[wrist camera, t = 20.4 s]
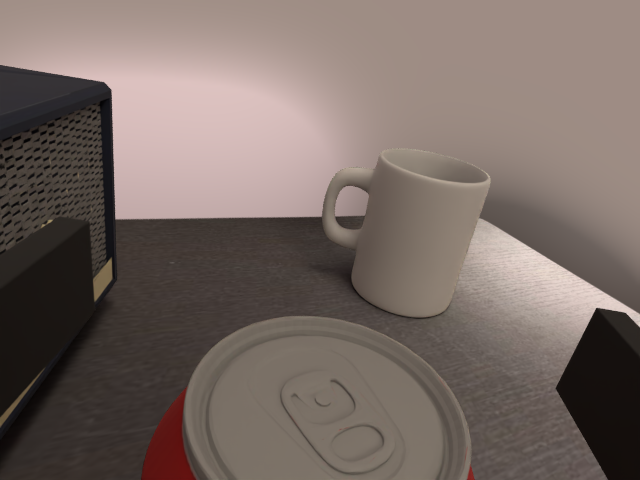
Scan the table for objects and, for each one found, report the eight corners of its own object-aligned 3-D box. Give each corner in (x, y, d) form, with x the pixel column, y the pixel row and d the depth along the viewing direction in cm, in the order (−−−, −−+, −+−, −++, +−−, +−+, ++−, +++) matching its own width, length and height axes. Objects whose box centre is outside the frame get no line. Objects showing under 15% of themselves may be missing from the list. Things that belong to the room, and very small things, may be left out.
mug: (448, 278, 42) (486, 163, 37) (451, 330, 34) (500, 194, 30) (322, 246, 43) (344, 132, 39) (299, 289, 36) (322, 154, 31)
